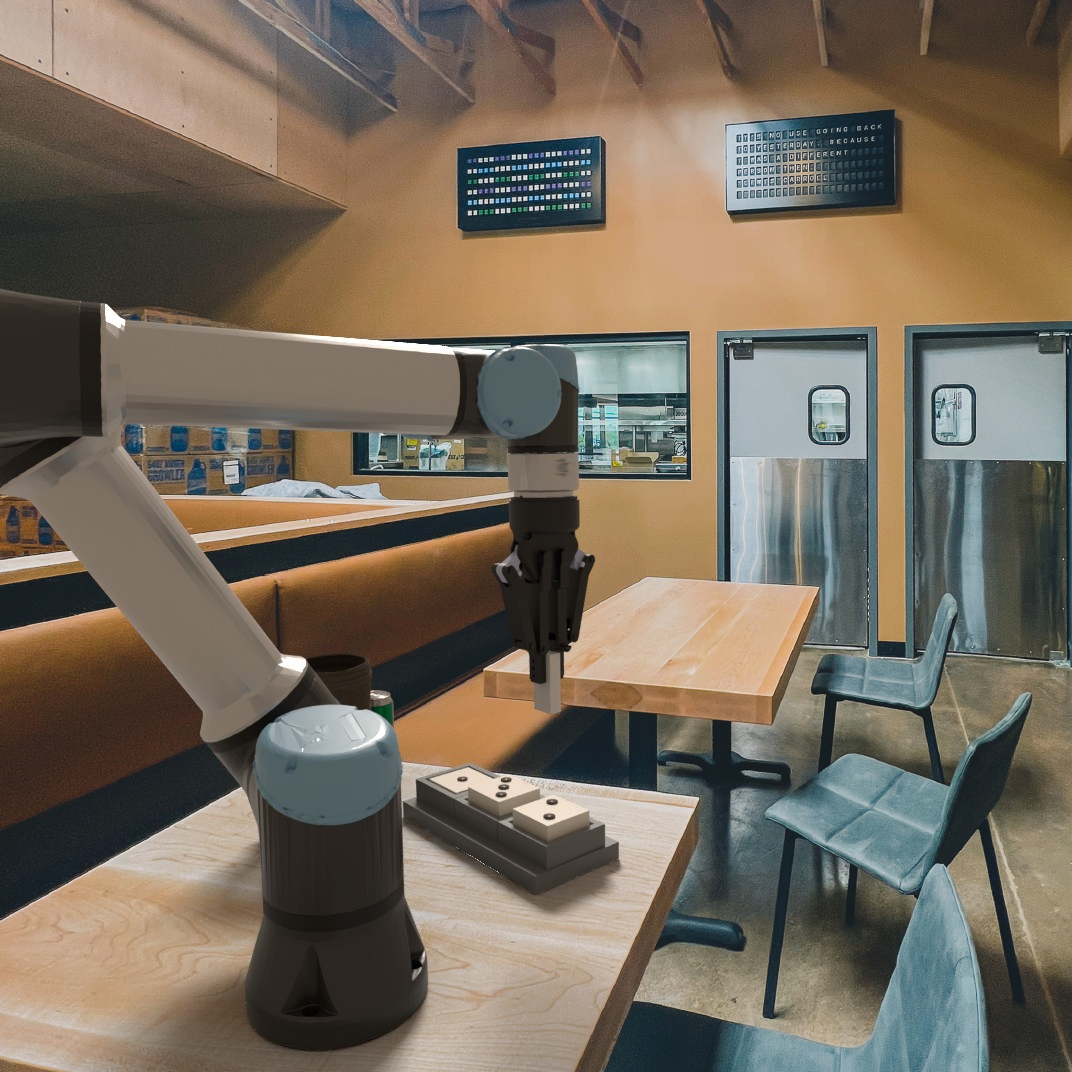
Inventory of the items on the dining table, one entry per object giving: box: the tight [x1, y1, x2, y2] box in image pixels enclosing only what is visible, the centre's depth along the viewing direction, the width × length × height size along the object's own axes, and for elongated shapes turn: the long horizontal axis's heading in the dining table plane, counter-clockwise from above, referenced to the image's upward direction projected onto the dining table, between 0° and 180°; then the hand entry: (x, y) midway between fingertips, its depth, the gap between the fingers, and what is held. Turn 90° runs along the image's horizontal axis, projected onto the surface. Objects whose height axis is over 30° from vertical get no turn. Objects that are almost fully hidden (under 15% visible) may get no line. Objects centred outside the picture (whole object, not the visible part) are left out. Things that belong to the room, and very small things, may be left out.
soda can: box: [370, 690, 395, 729], centre depth 124 cm, size 5×5×12 cm
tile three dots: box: [468, 773, 541, 817], centre depth 105 cm, size 6×6×3 cm
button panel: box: [402, 762, 620, 896], centre depth 106 cm, size 12×26×4 cm, turn 39°
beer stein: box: [304, 653, 373, 711], centre depth 111 cm, size 15×11×20 cm
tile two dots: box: [513, 794, 590, 842], centre depth 99 cm, size 6×6×3 cm
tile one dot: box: [429, 767, 493, 795], centre depth 112 cm, size 6×6×3 cm
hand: (547, 710), depth 98 cm, fingers closed
